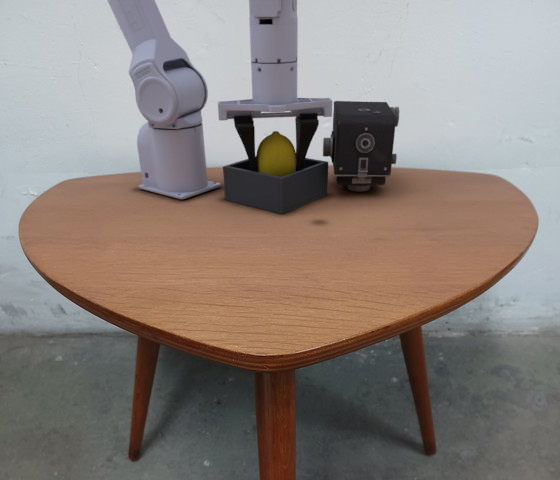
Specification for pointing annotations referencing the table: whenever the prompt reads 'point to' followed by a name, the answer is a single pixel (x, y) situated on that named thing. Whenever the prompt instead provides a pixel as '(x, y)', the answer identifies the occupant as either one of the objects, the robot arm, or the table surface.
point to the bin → (275, 186)
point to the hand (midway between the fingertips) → (276, 175)
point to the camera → (362, 143)
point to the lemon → (276, 155)
